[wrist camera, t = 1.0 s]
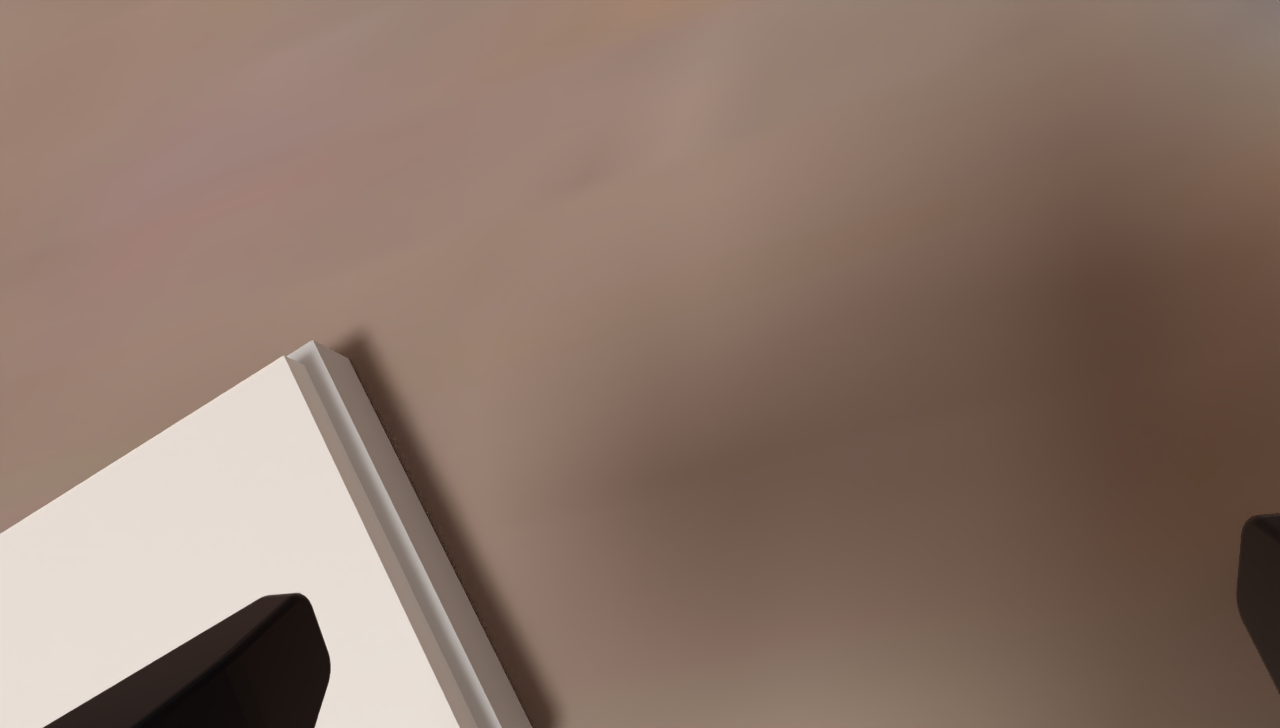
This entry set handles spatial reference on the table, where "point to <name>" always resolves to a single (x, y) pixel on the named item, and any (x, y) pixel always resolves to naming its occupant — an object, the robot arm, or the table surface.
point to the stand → (250, 561)
